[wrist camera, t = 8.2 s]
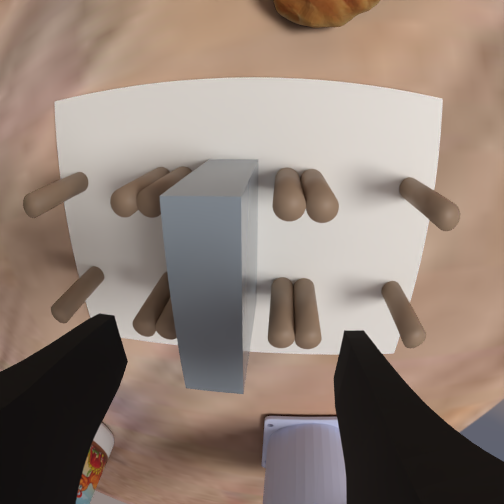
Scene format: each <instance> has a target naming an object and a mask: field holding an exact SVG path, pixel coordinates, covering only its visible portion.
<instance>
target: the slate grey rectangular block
mask: <svg viewBox="0 0 504 504" xmlns="http://www.w3.org/2000/svg"><path fill="white" fill-rule="evenodd" d="M160 208H161V219H162V229H163V239H164V248H165V257H166V266H167V274H168V282H169V289H170V296H171V303H172V310H173V317H174V323H175V330H176V336H177V342H178V348H179V353H180V359H181V364H182V370H183V375H184V380H185V385H186V388H190V389H198V390H207V391H216V392H226V393H238V394H244V387H245V380H246V373H247V366H248V359H249V352H250V345H251V338H252V331H253V323H254V316H255V309H256V302H257V240H258V160H254V159H209V160H208V161H206V162H205V163H204V164H202V165H201V166H199V167H198V168H197V169H195V170H194V171H192V172H191V173H190V174H188V175H187V176H186V177H184V178H183V179H181V180H180V181H179V182H177V183H176V184H175V185H173V186H172V187H171V188H169V189H168V190H167V191H166V192H164V193H163V194H162V195H160Z"/></svg>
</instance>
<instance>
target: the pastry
mask: <svg viewBox="0 0 504 504" xmlns="http://www.w3.org/2000/svg"><path fill="white" fill-rule="evenodd" d="M273 1H274V4H275V8H276V10H277V12H278V13H279V14H280V15H281V16H283V17H285V18H286V19H288V20H290V21H292V22H294V23H296V24H299V25H305V26H310V27H313V28H319V27H341V26H343V25H344V24H346V23H347V22H348V21H350V20H351V19H352V18H354V17H355V16H356V15H358V14H360V13H363V12H366V11H369V10H370V9H371V8H373V7H374V6H375V5H377V4H378V3H379V1H380V0H273Z"/></svg>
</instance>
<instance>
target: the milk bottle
mask: <svg viewBox="0 0 504 504" xmlns="http://www.w3.org/2000/svg"><path fill="white" fill-rule="evenodd" d="M113 445H114V437H113V434H112V433H111V431H110V430H109V429H108V427H107V426H105V425H104V424H103V423H101V425H100V427H99V429H98V431H97V433H96V435H95V437H94V439H93V442H92V444H91V447H90V450H89V453H88V456H87V459H86V462H85V466H84V469H83V473H82V477H81V480H80V484H79V488H78V494H77V499H76V504H90V501H91V498H92V496H93V494H94V491H95V489H96V487H97V484H98V482H99V479H100V477H101V475H102V472H103V470H104V467H105V465H106V463H107V460H108V458H109V455H110V453H111V451H112V448H113Z"/></svg>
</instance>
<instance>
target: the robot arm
mask: <svg viewBox="0 0 504 504" xmlns="http://www.w3.org/2000/svg"><path fill="white" fill-rule="evenodd" d="M127 362H128V361H127V357H126V354H125V351H124V348H123V344H122V341H121V337H120V334H119V330H118V327H117V323H116V320H115V316H114V315H107V314H100V313H99V314H97V315H95V316H93V317H92V318H90V319H88V320H87V321H85V322H83V323H82V324H80V325H79V326H77V327H75V328H74V329H72V330H71V331H69V332H68V333H66V334H65V335H63V336H62V337H60V338H59V339H57V340H56V341H54V342H52V343H51V344H49V345H48V346H46V347H44V348H43V349H41V350H39V351H38V352H36V353H34V354H33V355H31V356H30V357H28V358H26V359H24V360H23V361H21V362H19V363H17V364H15V365H13V366H11V367H9V368H7V369H5V370H3V371H1V372H0V504H76V499H77V494H78V488H79V484H80V480H81V477H82V473H83V469H84V466H85V462H86V459H87V456H88V453H89V450H90V447H91V444H92V442H93V439H94V437H95V435H96V433H97V431H98V429H99V427H100V425H101V423H102V421H103V418H104V416H105V414H106V412H107V410H108V408H109V406H110V404H111V402H112V400H113V398H114V396H115V394H116V392H117V390H118V388H119V386H120V383H121V380H122V378H123V375H124V372H125V368H126V365H127ZM334 394H335V408H336V414H337V417H291V416H267V417H265V422H264V437H263V452H262V467H264V468H266V470H265V483H264V494H263V504H504V462H503V461H501V460H500V459H498V458H496V457H494V456H493V455H491V454H489V453H488V452H486V451H484V450H483V449H481V448H480V447H478V446H477V445H475V444H474V443H472V442H471V441H469V440H468V439H467V438H466V437H464V436H463V435H461V434H460V433H459V432H457V431H456V430H455V429H454V428H452V427H451V426H450V425H449V424H447V423H446V422H445V421H444V420H443V419H442V418H441V417H440V416H438V415H437V414H436V413H435V412H434V411H433V410H432V409H431V408H430V407H429V406H427V405H426V404H425V403H424V402H423V401H422V400H421V398H420V397H419V396H418V395H417V394H416V393H415V392H414V391H413V390H412V389H411V388H410V387H409V386H408V385H407V383H406V382H405V381H404V380H403V379H402V378H401V376H400V375H399V374H398V373H397V372H396V370H395V369H394V368H393V367H392V366H391V364H390V363H389V362H388V361H387V359H386V358H385V357H384V356H383V354H382V353H381V352H380V351H379V349H378V348H377V347H376V345H375V344H374V343H373V341H372V340H371V339H370V338H369V336H368V335H367V334H366V333H365V331H364V330H355V331H348V330H344V334H343V338H342V343H341V348H340V353H339V357H338V362H337V366H336V370H335V375H334Z"/></svg>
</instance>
